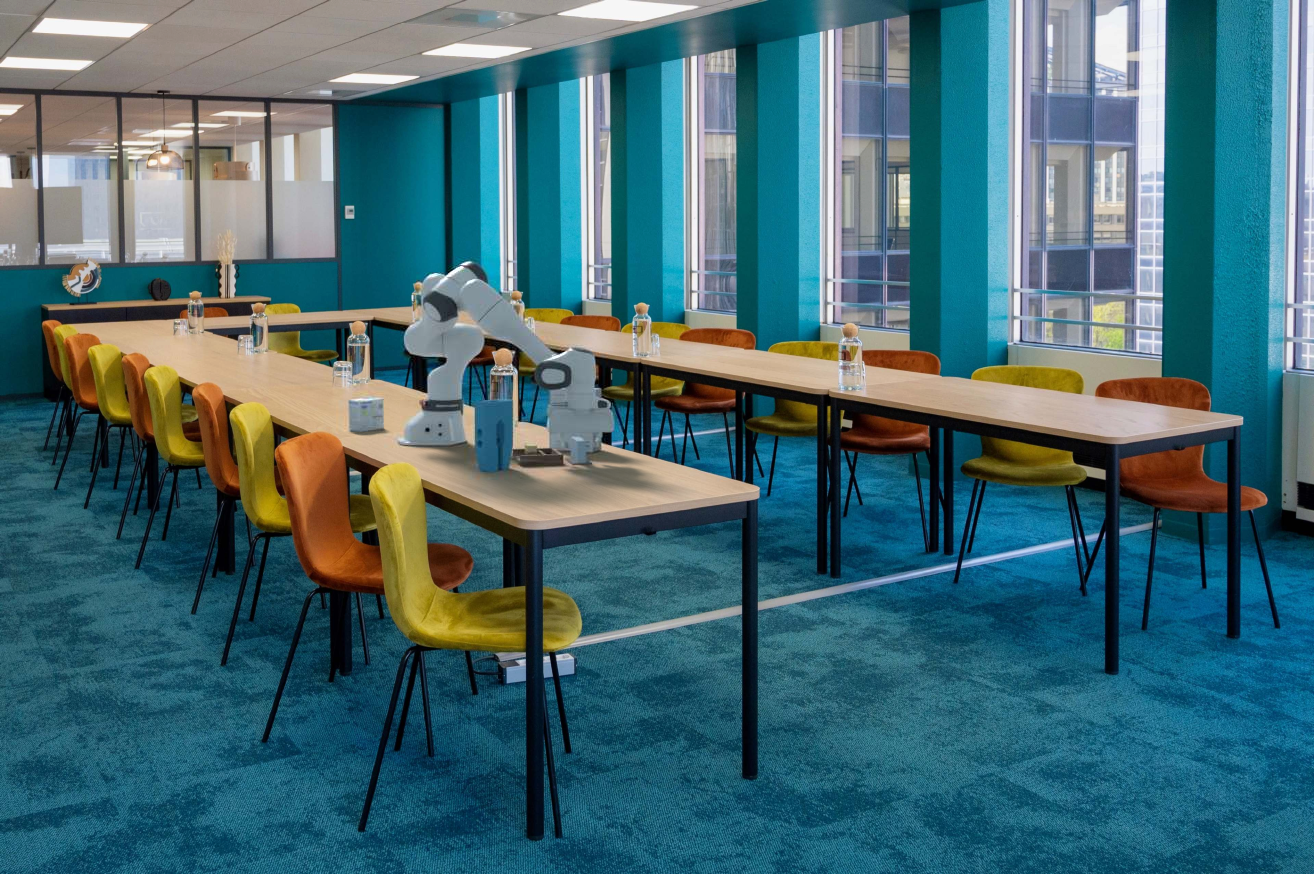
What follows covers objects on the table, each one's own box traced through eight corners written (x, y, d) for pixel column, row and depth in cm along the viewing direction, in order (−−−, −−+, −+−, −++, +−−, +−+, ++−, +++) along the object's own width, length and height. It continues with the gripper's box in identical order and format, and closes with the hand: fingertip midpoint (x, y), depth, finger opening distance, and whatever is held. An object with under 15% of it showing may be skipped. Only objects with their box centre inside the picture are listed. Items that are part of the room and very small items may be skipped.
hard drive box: (602, 449, 403) (602, 388, 400) (593, 453, 395) (593, 390, 392) (557, 446, 408) (558, 385, 405) (548, 450, 400) (548, 388, 397)
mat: (572, 464, 375) (572, 463, 375) (564, 459, 384) (564, 457, 384) (591, 464, 376) (591, 462, 376) (583, 458, 386) (583, 457, 386)
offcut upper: (527, 451, 378) (527, 445, 378) (524, 449, 382) (524, 443, 382) (537, 451, 379) (537, 445, 379) (534, 449, 383) (534, 443, 383)
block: (501, 465, 371) (501, 398, 368) (514, 467, 369) (514, 400, 366) (473, 470, 362) (473, 402, 359) (486, 472, 359) (485, 403, 356)
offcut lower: (527, 457, 378) (527, 451, 378) (524, 455, 382) (524, 449, 382) (537, 457, 379) (537, 451, 379) (534, 455, 383) (534, 449, 383)
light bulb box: (371, 426, 444) (371, 396, 442) (384, 428, 440) (384, 398, 438) (348, 430, 435) (347, 399, 434) (361, 432, 431) (360, 401, 430)
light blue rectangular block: (577, 463, 375) (577, 441, 374) (570, 458, 384) (570, 437, 383) (585, 462, 376) (586, 441, 375) (578, 457, 385) (579, 436, 384)
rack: (512, 458, 383) (512, 448, 383) (554, 457, 387) (554, 447, 387) (520, 466, 371) (520, 456, 371) (563, 464, 375) (563, 454, 374)
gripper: (549, 404, 369) (548, 450, 371) (616, 402, 375) (615, 448, 377) (544, 401, 375) (544, 446, 377) (610, 399, 381) (609, 444, 383)
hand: (580, 447), depth 377 cm, fingers open, 8 cm apart
